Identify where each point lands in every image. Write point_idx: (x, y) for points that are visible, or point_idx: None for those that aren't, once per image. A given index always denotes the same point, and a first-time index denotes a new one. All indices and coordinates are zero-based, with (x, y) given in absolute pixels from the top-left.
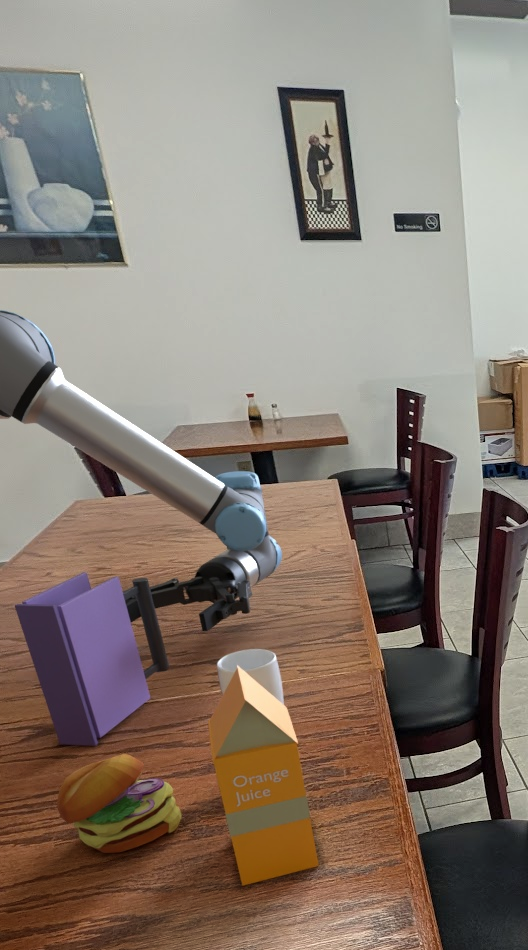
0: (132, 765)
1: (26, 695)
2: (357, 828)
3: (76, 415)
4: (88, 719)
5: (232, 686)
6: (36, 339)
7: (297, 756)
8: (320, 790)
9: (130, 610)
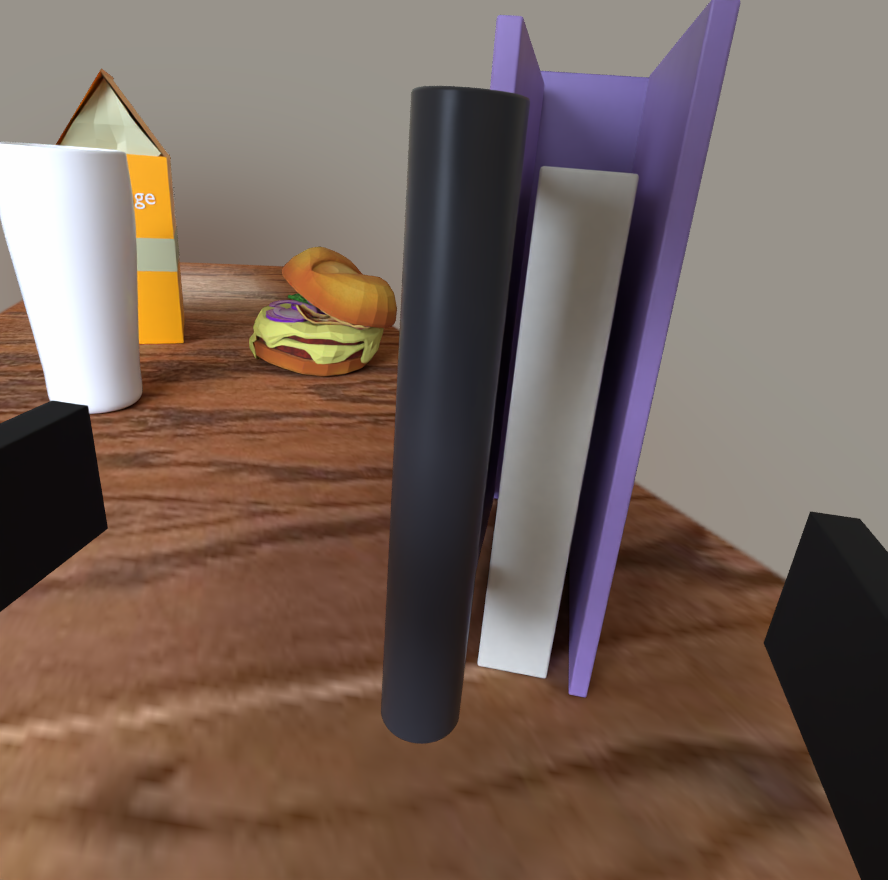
0: (292, 258)
1: None
2: (23, 334)
3: None
4: None
5: (119, 94)
6: None
7: None
8: (32, 369)
9: (873, 701)
